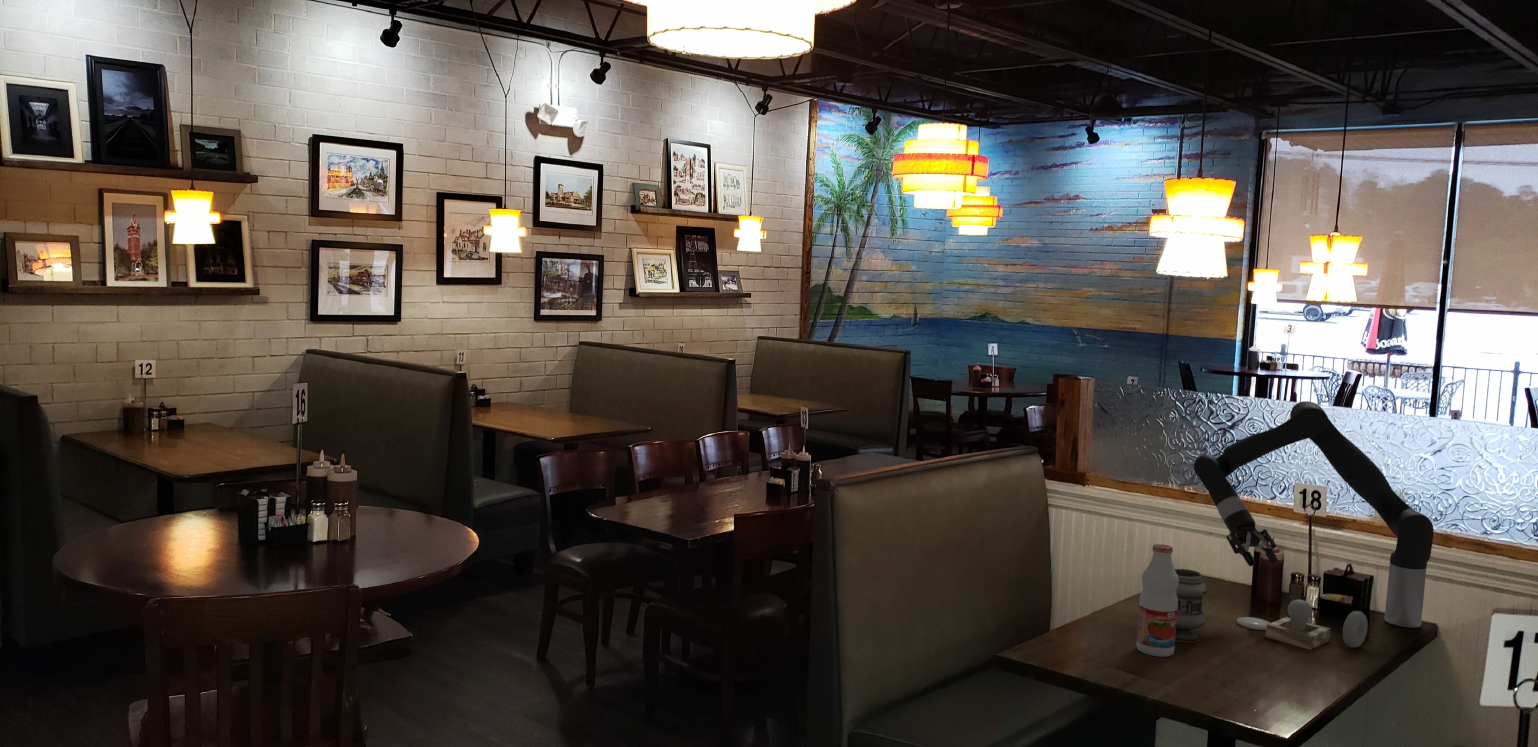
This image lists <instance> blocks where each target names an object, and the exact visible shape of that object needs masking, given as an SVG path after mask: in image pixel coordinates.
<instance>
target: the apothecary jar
mask: <svg viewBox="0 0 1538 747" xmlns="http://www.w3.org/2000/svg"><path fill="white" fill-rule="evenodd" d="M1174 569H1175V572H1176V573H1177V575H1178V578H1179V585H1178V588H1177V591H1176V595H1177V598H1178V610H1177V623H1176V636H1175V642H1179V643H1185V644H1186V643H1187V644H1193V643H1198V642H1199V641H1201V636H1200V635H1198V633H1196V632H1194V630H1197V629H1200V628H1202V627H1203V626H1204V625H1205V624H1206V622H1207V616H1206V614H1205V612H1204V611H1203V597H1204V596H1205V595H1207V593H1208V591H1209V590H1208V586H1207V584H1206V582H1204V581H1203V579H1202V578H1203V576H1202V573H1200V571H1197V570H1193V569H1188V568H1174ZM1192 630H1193V631H1192Z"/></svg>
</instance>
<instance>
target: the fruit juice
mask: <svg viewBox="0 0 1538 747" xmlns="http://www.w3.org/2000/svg"><path fill="white" fill-rule="evenodd" d="M1151 550H1152V552H1153V553H1152V557H1151V559H1150V561H1149V564H1148V565H1147V567H1146V568H1145V569H1144V570H1143V572H1142V575H1141V584H1142V591H1141V592H1140V596H1139V602H1138V603H1139V604H1138V605H1139V606H1138V618H1137V633H1136V648H1137V650H1138V651H1139V652H1141V653H1143V654H1144V655H1148V656H1153V657H1161V658H1163V657H1165V658H1166V657H1171V656H1173V655H1174V653H1175V649H1176V646H1175V645H1176V641H1175V636H1176V623H1177V610H1178V598H1177V595H1176V591H1177V588H1178V585H1179V578H1178V575H1177V573H1176V572H1175V569H1176V568H1175V566H1174V564H1173V560H1172V554H1173V551H1174V550H1173V546H1171V545H1168V544H1161V543H1158V544H1157V543H1155V544H1153V545H1152V548H1151Z"/></svg>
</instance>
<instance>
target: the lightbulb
mask: <svg viewBox="0 0 1538 747" xmlns="http://www.w3.org/2000/svg"><path fill="white" fill-rule="evenodd" d="M1287 614H1288V616H1289V617H1288V618H1290V619H1291V622H1292V629H1293V630H1296V631H1300V632H1304V630H1305V626H1306V624H1307V623H1309V620H1310V619H1311V618H1312V616H1313V607H1312V606H1311V605H1310V603H1308V601H1306V600H1303V599H1294V600H1292V601H1291V602H1290V603H1289V604H1288V606H1287Z"/></svg>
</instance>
